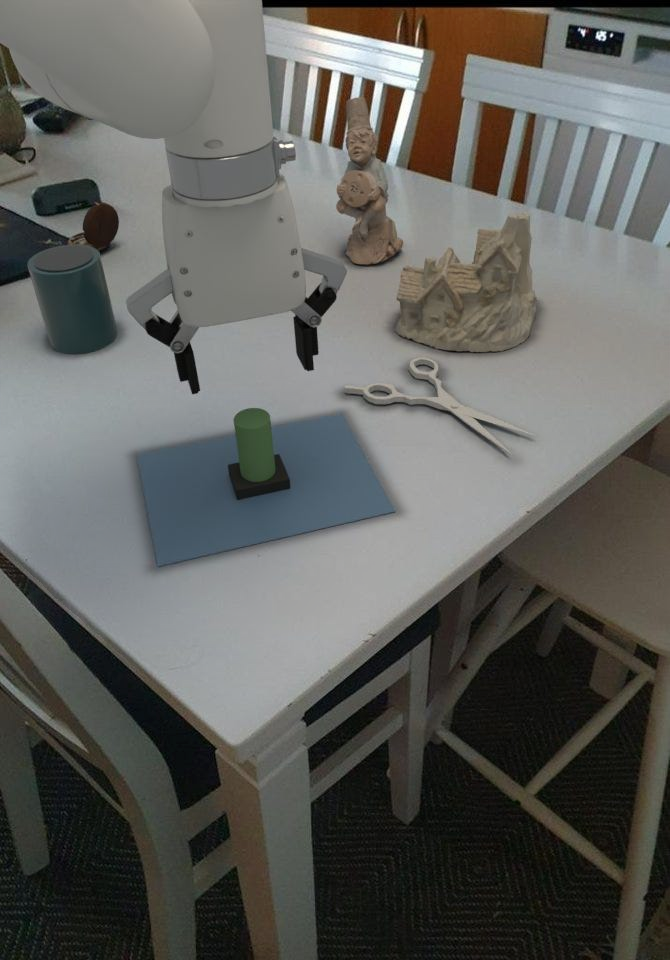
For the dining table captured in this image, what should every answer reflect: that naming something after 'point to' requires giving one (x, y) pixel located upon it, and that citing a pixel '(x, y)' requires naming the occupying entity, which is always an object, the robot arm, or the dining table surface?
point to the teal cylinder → (73, 298)
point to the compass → (97, 227)
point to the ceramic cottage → (473, 294)
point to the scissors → (431, 399)
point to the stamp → (256, 457)
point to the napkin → (239, 523)
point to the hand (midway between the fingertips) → (250, 373)
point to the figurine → (365, 192)
